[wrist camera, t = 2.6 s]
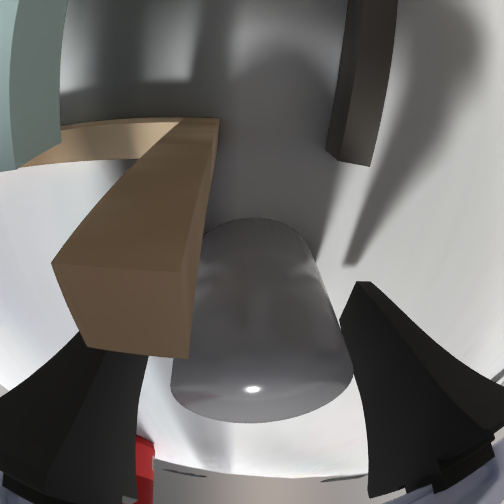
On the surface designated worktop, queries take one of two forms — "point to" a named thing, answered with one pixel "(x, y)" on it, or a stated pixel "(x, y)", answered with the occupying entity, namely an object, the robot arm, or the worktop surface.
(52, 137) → the teal flat panel
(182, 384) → the grey matte cylinder
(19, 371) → the worktop surface
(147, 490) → the canned food
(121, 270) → the toy chair
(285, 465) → the worktop surface
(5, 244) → the worktop surface
